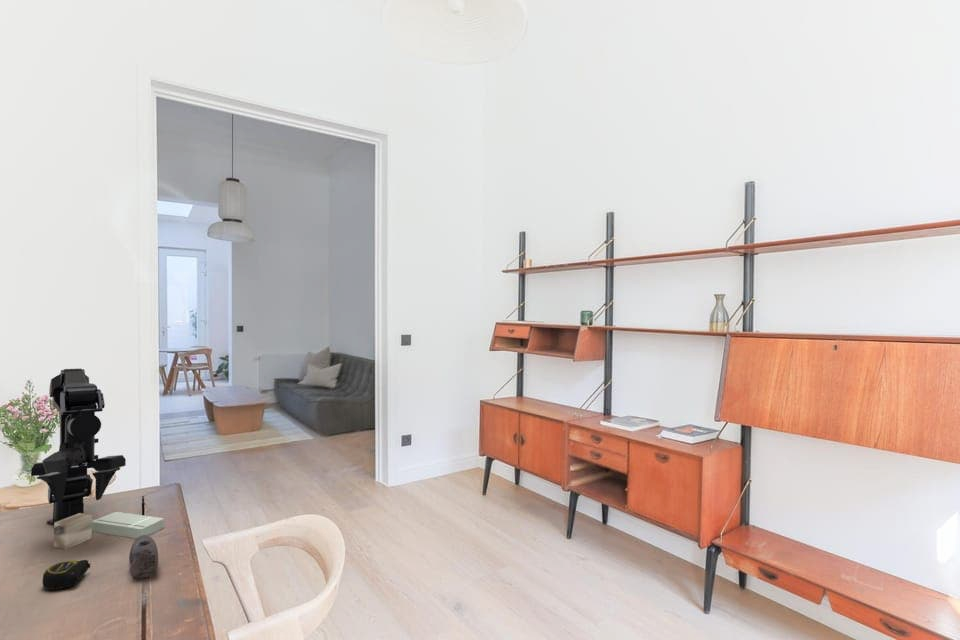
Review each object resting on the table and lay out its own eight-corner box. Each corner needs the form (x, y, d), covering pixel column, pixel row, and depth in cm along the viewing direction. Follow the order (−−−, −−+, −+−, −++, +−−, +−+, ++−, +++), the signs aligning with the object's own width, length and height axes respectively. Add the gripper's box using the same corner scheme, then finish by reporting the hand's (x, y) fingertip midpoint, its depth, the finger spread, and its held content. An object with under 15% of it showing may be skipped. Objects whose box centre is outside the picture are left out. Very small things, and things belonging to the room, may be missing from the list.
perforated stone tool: (128, 558, 114) (129, 528, 114) (155, 552, 117) (156, 523, 117) (128, 587, 102) (129, 554, 102) (158, 580, 105) (159, 548, 105)
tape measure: (75, 590, 100) (76, 572, 100) (34, 595, 98) (35, 576, 98) (90, 574, 107) (91, 557, 107) (52, 578, 105) (53, 560, 105)
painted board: (90, 531, 127) (90, 521, 127) (115, 520, 134) (115, 511, 134) (140, 538, 124) (141, 528, 124) (164, 527, 130) (164, 518, 130)
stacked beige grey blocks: (49, 548, 117) (50, 524, 117) (82, 534, 125) (83, 511, 125) (62, 550, 116) (63, 526, 116) (95, 536, 124) (96, 513, 124)
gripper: (10, 444, 112) (8, 514, 110) (94, 438, 113) (93, 507, 111) (51, 437, 123) (49, 501, 121) (127, 432, 124) (126, 495, 122)
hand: (78, 501), depth 118 cm, fingers open, 9 cm apart
